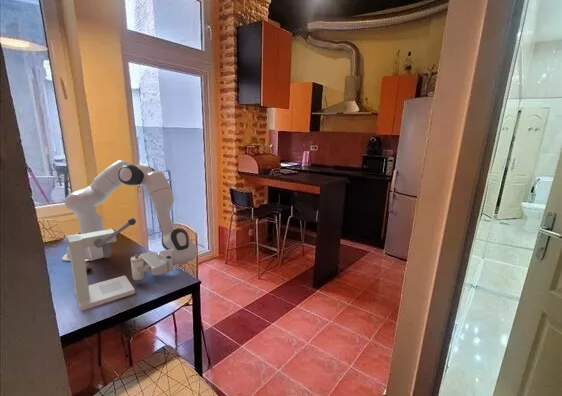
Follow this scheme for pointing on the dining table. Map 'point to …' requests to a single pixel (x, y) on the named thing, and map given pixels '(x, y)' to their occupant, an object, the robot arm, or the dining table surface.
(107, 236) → the press
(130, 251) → the dining table surface
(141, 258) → the white lidded bottle
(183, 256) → the robot arm
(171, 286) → the dining table surface
